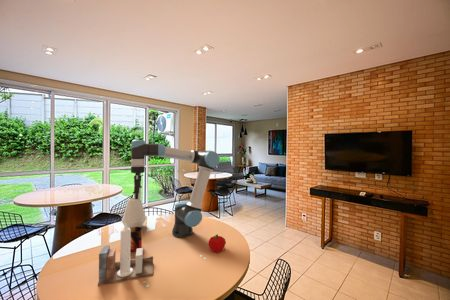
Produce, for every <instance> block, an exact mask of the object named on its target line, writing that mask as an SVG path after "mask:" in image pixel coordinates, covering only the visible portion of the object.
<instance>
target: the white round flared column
mask: <svg viewBox="0 0 450 300" xmlns="http://www.w3.org/2000/svg"><path fill="white" fill-rule="evenodd" d="M123 226H124V225H123ZM130 242H131V229H130V228H128V227H127V224H126V223H125V226H124V227H123V228H122V229H120V247H119V248H120V250H119V251H120V255H119V257H120V259H119V261H120V270H119V271H118V272H117V276H119V277H126V276H128V275H130V274H131V273H132V272H133V269H132V268H131V267H130V260H131V252H130Z"/></svg>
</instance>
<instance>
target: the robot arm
mask: <svg viewBox="0 0 450 300" xmlns="http://www.w3.org/2000/svg"><path fill="white" fill-rule="evenodd" d="M130 145H131V146H130V157H131V158H130V159H131V160H129V162H130V166H131V167H130V173H131V174H135V175H134V176H133V183H134V184H133V185H134V187H133V188H134V189H133V192H132V194H133V198H134V205H139V199H141V198H142V197H141V196H142V194H141V192H142V191H141V189H143V187H142V183H141V182H142V175H141V174H143V173H145V170H146V169H145V168H146V167H145V165H146V157H147V156H148V157H161V158H167V159H174V160H180V161H187V162H189V163H192V164H196V165H198V166H197V167H198V169H199V170H198V173H197V176H196V179H195V182H194V184H193V188H192V192H191V194H190V198H189V201H181V202H177V203H175V205H174V224H173V228H172V231H171V235H172V236H173V237H175V238H188V237H189V236H191V235H192V234H193V233H194V232H193V230H194V229H193V228H195V227H197V226H198V225H200V224H201V222H202V220H203V214H202V210H203V207H202V202H203V199H204V196H205V192H206V189H207V186H208V183H209V180H210V176H211V173H212V172H214V170H215V168H216V167H217V166H219V163H220V156H219V154H218V152H216V151H214V150H193V149H191V150H187V149H180V148H173V147H168V146H165V145H164V144H163V143H146V141H145V140H142V139H141V140H140V139H133V140H132V141H131V144H130Z"/></svg>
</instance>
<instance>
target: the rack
mask: <svg viewBox="0 0 450 300" xmlns="http://www.w3.org/2000/svg"><path fill="white" fill-rule="evenodd" d="M116 255H117V254H116V248H111V247H110V244H109V245H103V246H102V247H101V249H100V251H99V253H98V282H97V287H98V286H99V287H100V286H104V285H108V284H113V283H119V282H124V281H130V280H135V279H139V278H140V279H141V278H144V277H150V276H154V256H153V255H152V256H145V257H144V256H143V266H142V273H138V274H135V266H136V258H132V259H131V258H130V267H131V268H132V269H133V272H132V273H131V274H130V275H128V276H126V277H119V276H117V272H118V271H119V270H120V260H119V261H116Z"/></svg>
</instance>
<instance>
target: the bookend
mask: <svg viewBox="0 0 450 300" xmlns="http://www.w3.org/2000/svg"><path fill="white" fill-rule="evenodd" d="M143 258H144V248H143V247H142V248H138V249H137V250H136V252H135V259H136V266H135V274H138V273H142V266H143Z"/></svg>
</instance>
